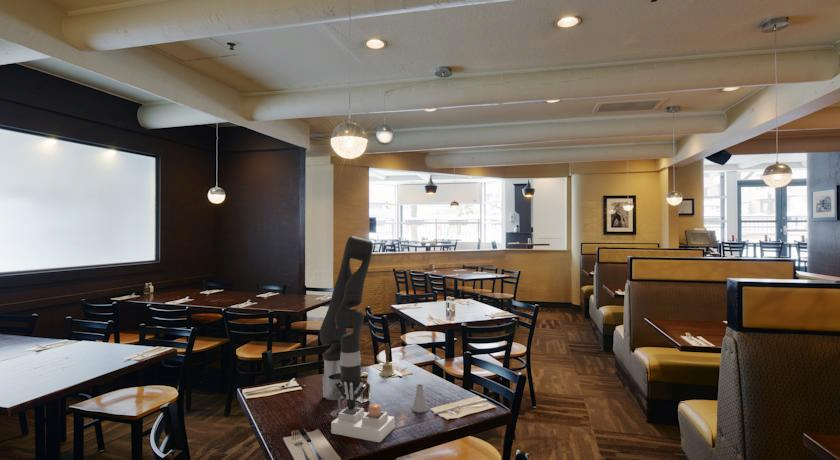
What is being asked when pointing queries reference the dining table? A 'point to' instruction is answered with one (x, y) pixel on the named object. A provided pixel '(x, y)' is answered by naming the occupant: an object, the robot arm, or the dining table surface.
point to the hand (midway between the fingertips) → (351, 408)
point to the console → (363, 425)
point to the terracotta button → (374, 410)
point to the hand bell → (387, 364)
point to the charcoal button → (351, 411)
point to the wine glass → (335, 391)
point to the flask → (420, 400)
